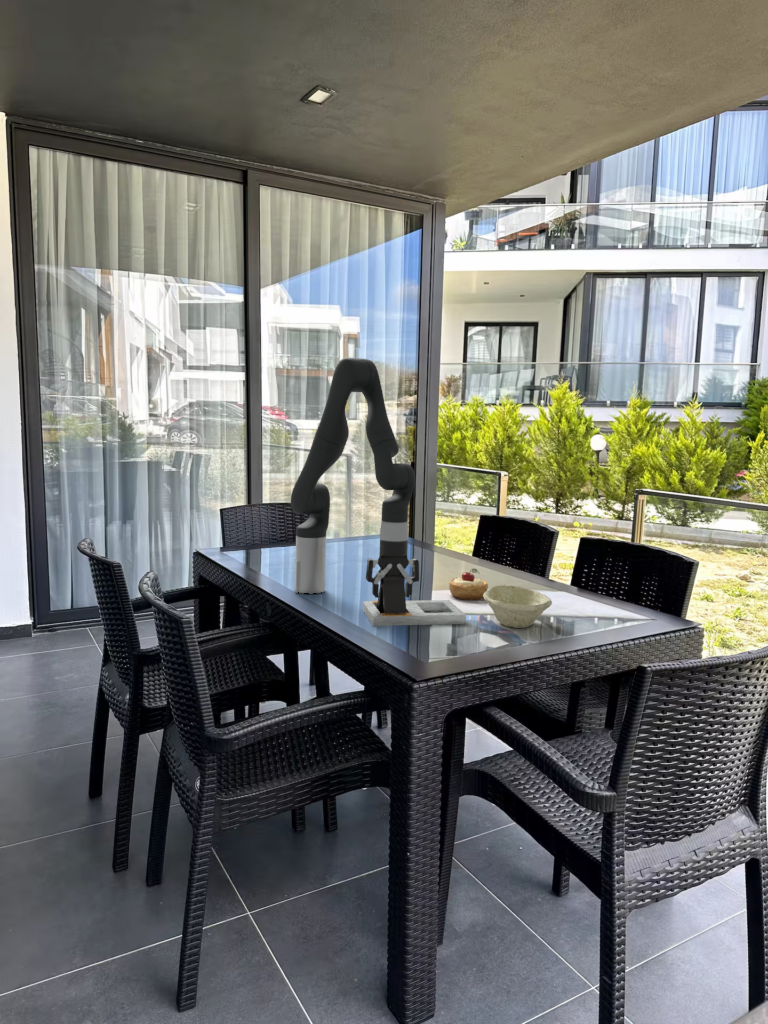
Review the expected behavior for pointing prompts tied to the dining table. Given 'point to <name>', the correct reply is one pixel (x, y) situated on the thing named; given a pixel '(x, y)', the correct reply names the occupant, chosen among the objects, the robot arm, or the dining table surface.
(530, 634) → the dining table surface
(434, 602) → the white slotted tray
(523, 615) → the bowl
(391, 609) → the phone stand
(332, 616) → the dining table surface
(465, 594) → the pastry
